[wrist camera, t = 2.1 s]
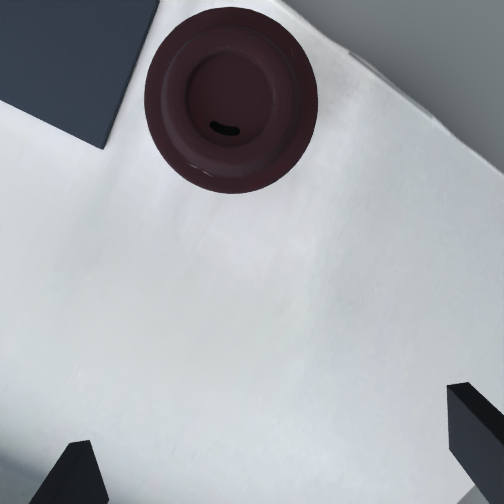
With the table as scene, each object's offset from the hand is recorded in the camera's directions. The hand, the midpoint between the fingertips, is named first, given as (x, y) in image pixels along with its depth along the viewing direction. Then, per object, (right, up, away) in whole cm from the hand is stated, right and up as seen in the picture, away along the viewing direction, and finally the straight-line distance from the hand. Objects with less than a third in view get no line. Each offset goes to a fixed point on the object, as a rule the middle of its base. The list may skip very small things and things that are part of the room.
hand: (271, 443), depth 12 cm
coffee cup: (-2, +18, +20) cm, 27 cm away
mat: (-22, +28, +17) cm, 39 cm away
